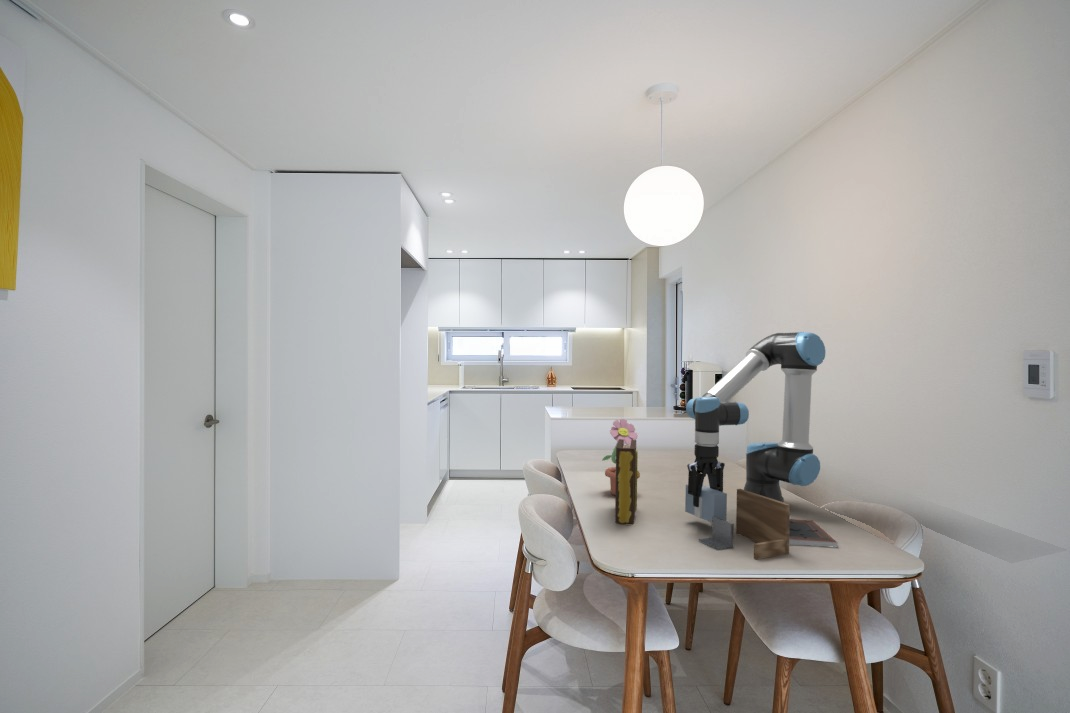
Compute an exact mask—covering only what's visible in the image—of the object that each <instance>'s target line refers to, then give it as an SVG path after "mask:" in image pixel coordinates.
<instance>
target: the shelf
mask: <svg viewBox="0 0 1070 713" xmlns="http://www.w3.org/2000/svg"><path fill="white" fill-rule="evenodd" d="M790 507H791V504H789V503H786V502H785V501H784V502H780V501H777V500H774V499H771V498H768V497H765V496H762V495H758V494H755V493H752V492H749V491H746V490H744V488H743V489H742V488H737V489H736V515H735V516H736V519H735V520H736V521H735V522H736V523H735V524H736V525H735V534H737V535H739V536H742V537H744V538H746V539H748V540H751V541H753V542H755V543H753V559H755V560H762V559H765V558H767V559H768V558H771V557H777V556H782V555H788V554H790V545H789V524H790V519H791V516H790V512H791V511H790V510H791V508H790Z"/></svg>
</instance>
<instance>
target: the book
mask: <svg viewBox="0 0 1070 713" xmlns="http://www.w3.org/2000/svg"><path fill="white" fill-rule="evenodd" d="M616 444H617V446H616V445H615V446H616V464H615V467H616V471H615V476H616V495H614V496H615V499H614V500H615V501H614V503H615V506H614V507H615V508H614V513H615V514H614V517H615V518H614V521H615V523H616V524H619V525H626V524H632V525H634V524H635V519H636V512H637V511H638V479H639V478H640V477H639V473H640V471H639V470H638V458H639V457H638V456H639V455H638V454H639V453H638V452H639V451H638V450H637V439H636V440H634V439H633V440H631V444H630V445H626V444H624V440H623V439H619V440H618V443H617V442H616Z"/></svg>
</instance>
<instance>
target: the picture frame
mask: <svg viewBox="0 0 1070 713" xmlns="http://www.w3.org/2000/svg"><path fill="white" fill-rule="evenodd" d="M790 545H791V546H804V545H813V546H812V547H819V546H833V547H832V548H834V547H837V548H838V542H837V541H836V539H834V538H833V537H832V535H830V534H829V533H827V531H825V530H824V529H823V528H822V527H821V526H819V524H817V522H815V521H814V520H811V519H799V518H798V519H796V518H794V519H793V518H790V524H789V546H790Z"/></svg>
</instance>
